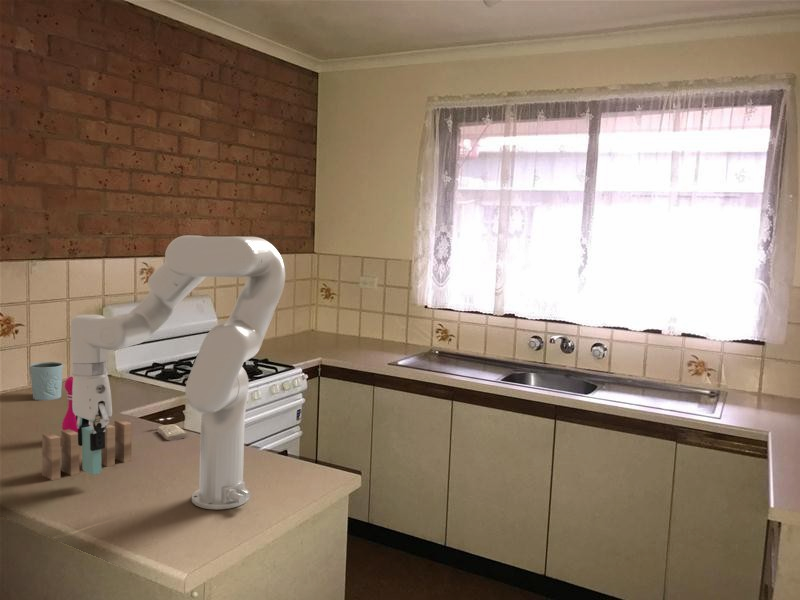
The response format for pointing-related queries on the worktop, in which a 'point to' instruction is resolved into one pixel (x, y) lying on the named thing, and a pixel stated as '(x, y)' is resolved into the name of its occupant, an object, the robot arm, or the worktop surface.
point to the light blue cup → (46, 380)
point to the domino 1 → (51, 456)
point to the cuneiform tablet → (171, 431)
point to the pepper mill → (70, 409)
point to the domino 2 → (69, 452)
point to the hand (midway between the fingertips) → (91, 446)
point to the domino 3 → (90, 454)
